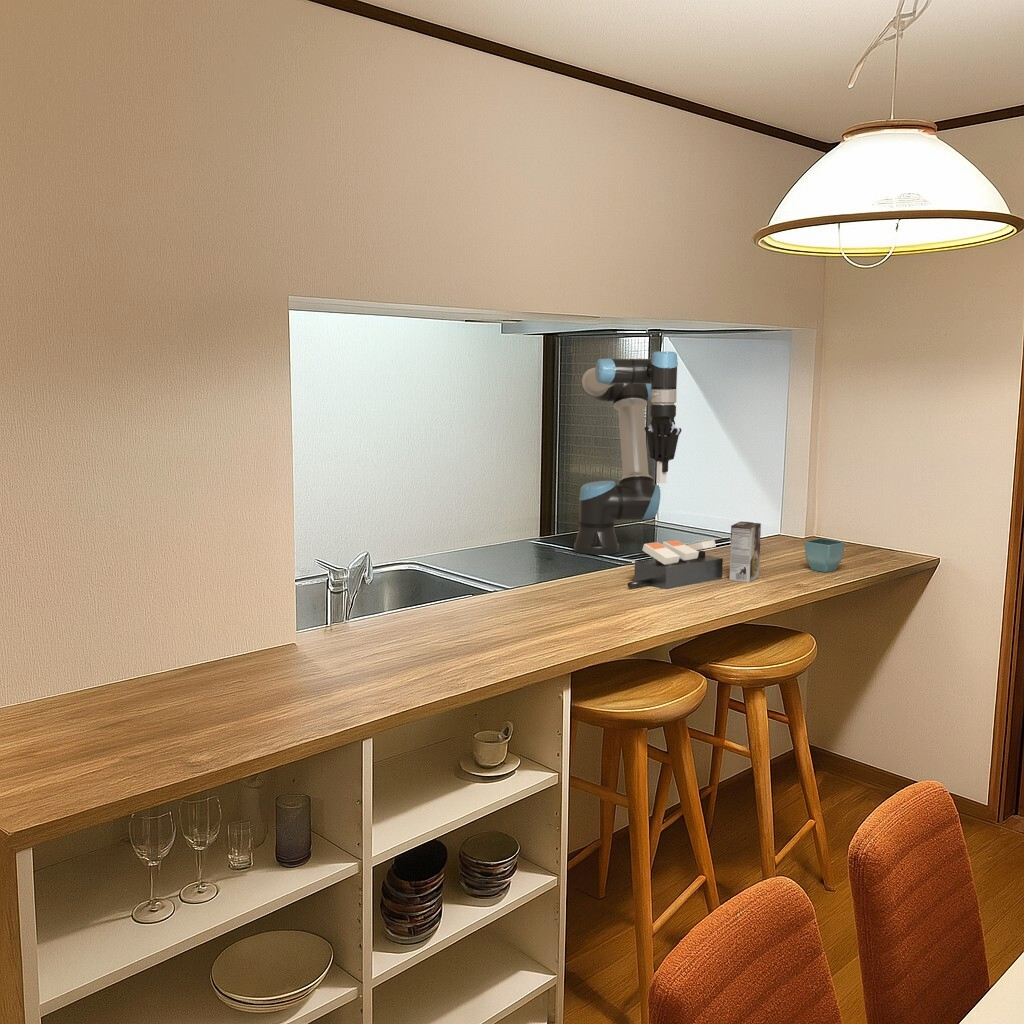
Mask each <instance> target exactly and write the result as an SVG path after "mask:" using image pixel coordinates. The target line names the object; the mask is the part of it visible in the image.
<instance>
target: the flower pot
mask: <svg viewBox="0 0 1024 1024" xmlns="http://www.w3.org/2000/svg"><path fill="white" fill-rule="evenodd" d="M845 545H846V541H840V540H835V539H834V540H833V539H828V538H816V539H810V540H804V551H805V557H806V562H807V563H808V566H809V567H810V569H811V570H812V571H817V572H822V573H829V572H833V571H836V570H837V568H838V567H839V565H840V563H841V562H842V559H843V556H844V551H845Z"/></svg>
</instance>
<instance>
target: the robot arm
mask: <svg viewBox="0 0 1024 1024" xmlns="http://www.w3.org/2000/svg"><path fill="white" fill-rule="evenodd" d="M678 365H679V363H678V354H677V353H676V351H654V352H652V354H651V358H610V357H608V358H599V359H597V360H596V364H595V367H592V368H589V369H587V370H585V372H584V373H583V374H582V375H581V377H580V388H581V391H582V392H583V393H584V395H586V396H587V397H588V398H590V399H593V400H595V401H599V402H612V404H613V408H614V409H615V410H616V411H617V412H618V423H619V424H618V425H619V437H620V438H619V439H620V451H621V452H620V453H621V463H622V464H621V465H622V467H621V468H622V477H621V478H620V479H619V480H618V484H616V482H615V481H614V480H598V481H591V482H587V483H584V484H583V485H582V486H581V487H580V490H579V491H580V492H579V498H578V500H579V523H578V524H579V527H578V530H577V531H578V532H577V534H576V539H575V541H574V543H573V551H574V552H575V553H579V554H585V555H594V556H595V555H613V554H617V553H620V544H619V542H618V538H617V533H616V531H615V521H616V520H617V521H618V520H619V521H620V520H621V521H622V520H623V521H626V520H627V521H628V520H633V521H634V520H635V521H636V520H637V521H639V520H641V521H643V520H652V519H654V518H655V517H656V516H657V514H658V511H659V509H660V508H659V507H660V502H661V487H660V485H659V484H667V473H668V471H669V462H670V461H672V460H674V458H675V456H676V450H677V446H678V441H679V437H680V434H681V432H682V428H681V427H678V426H677V425H676V421H675V417H676V416H677V405H676V403H677V385H678V383H677V381H678ZM649 401H650V402H651V405H650V417H651V420H650V424H649V425H648V426H645V424H646V423H645V414H644V409H645V408H646V407H647V405H648V402H649ZM646 437H647V438H646ZM647 443H648V449H649V457H650V459H653V460H654V461H655V468H654V469H655V472H656V484H655V481H654V477H653V476H651V475H650V474H649V463H648V462H649V461H648V453H647V451H648V449H647Z"/></svg>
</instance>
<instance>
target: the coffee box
mask: <svg viewBox="0 0 1024 1024" xmlns="http://www.w3.org/2000/svg"><path fill="white" fill-rule="evenodd" d="M761 526H762V523H759V522H751V521H738V522H736V523H735V524H731V525H730V529H731V530H730V551H729V553H730V554H729V555H730V556H729V575H728V576H729V579H728V580H729V581H734V582H741V583H751V582H753V581H754V580H756V579H757V578H759V577H760V563H761V561H760V558H761V555H760V554H761V534H762V532H761V531H762V530H761V529H762V527H761Z"/></svg>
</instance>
